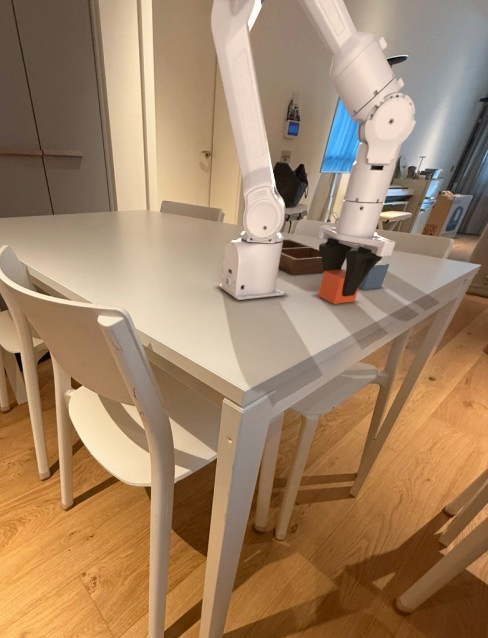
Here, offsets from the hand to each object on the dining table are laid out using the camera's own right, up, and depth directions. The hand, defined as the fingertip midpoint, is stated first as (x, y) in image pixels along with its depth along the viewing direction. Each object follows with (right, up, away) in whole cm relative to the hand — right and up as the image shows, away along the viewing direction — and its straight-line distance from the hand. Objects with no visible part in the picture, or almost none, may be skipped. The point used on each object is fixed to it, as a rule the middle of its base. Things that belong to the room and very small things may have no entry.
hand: (338, 290), depth 59 cm
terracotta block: (0, -1, +1) cm, 1 cm away
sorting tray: (-2, +14, +22) cm, 26 cm away
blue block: (+9, +4, +8) cm, 12 cm away
